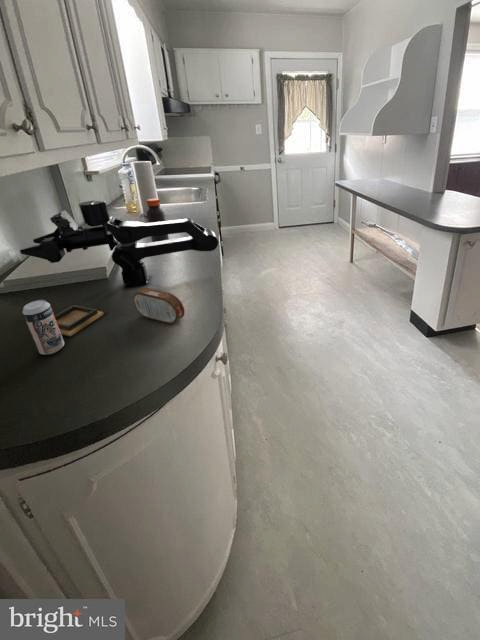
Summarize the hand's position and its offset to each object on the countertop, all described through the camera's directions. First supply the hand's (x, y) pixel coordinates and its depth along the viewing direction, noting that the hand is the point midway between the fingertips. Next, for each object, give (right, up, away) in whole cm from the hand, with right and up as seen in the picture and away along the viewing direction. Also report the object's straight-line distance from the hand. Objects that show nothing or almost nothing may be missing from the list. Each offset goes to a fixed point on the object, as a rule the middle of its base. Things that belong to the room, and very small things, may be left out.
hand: (27, 246), depth 86 cm
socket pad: (+17, -20, -6) cm, 27 cm away
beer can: (+19, -24, -16) cm, 35 cm away
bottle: (+19, +2, +47) cm, 50 cm away
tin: (+40, -20, -5) cm, 45 cm away
